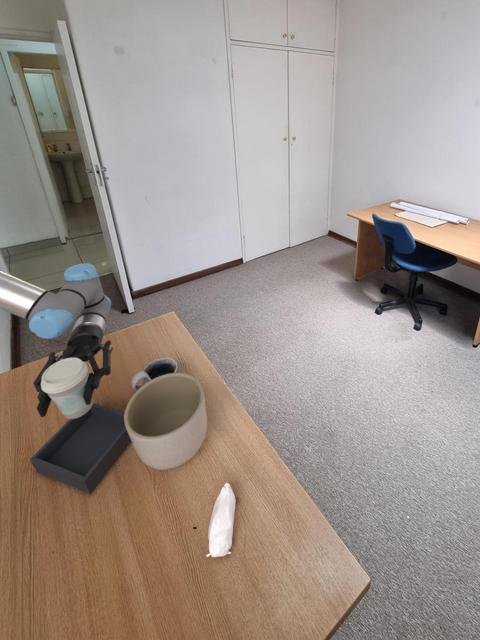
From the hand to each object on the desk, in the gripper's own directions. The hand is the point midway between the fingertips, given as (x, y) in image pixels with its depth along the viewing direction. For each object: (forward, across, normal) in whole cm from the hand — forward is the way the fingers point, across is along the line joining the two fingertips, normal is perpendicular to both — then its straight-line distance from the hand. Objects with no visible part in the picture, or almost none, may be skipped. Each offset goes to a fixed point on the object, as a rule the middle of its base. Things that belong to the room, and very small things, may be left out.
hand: (64, 406), depth 69 cm
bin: (-3, 0, -20) cm, 20 cm away
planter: (+2, -19, -20) cm, 28 cm away
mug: (-16, -15, -20) cm, 29 cm away
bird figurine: (+24, -28, -20) cm, 42 cm away
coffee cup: (-5, 0, -7) cm, 8 cm away
